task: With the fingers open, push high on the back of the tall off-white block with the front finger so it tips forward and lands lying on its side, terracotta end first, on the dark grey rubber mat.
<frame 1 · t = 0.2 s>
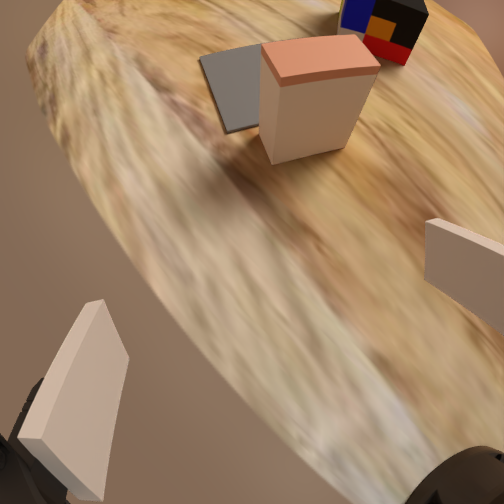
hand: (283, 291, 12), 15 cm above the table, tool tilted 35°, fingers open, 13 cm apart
puzzle toy: (370, 37, 36), on the table
tall block: (302, 139, 31), on the table
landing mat: (270, 78, 33), on the table
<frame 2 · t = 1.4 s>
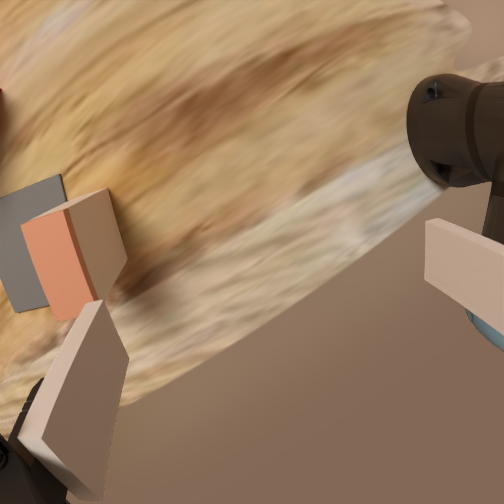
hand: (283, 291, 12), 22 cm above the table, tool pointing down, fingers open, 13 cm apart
tall block: (100, 228, 31), on the table
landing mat: (32, 249, 30), on the table
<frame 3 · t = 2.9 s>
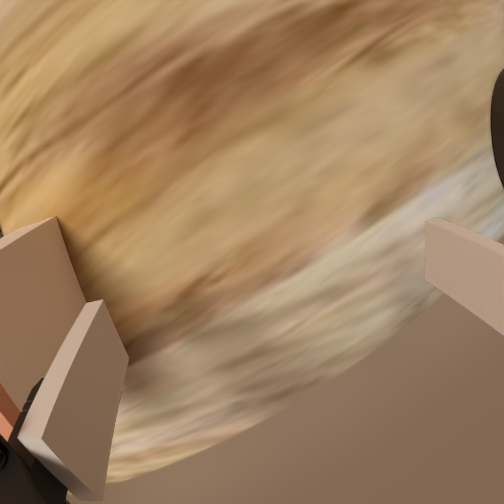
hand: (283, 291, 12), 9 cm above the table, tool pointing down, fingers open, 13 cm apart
tall block: (51, 279, 19), on the table
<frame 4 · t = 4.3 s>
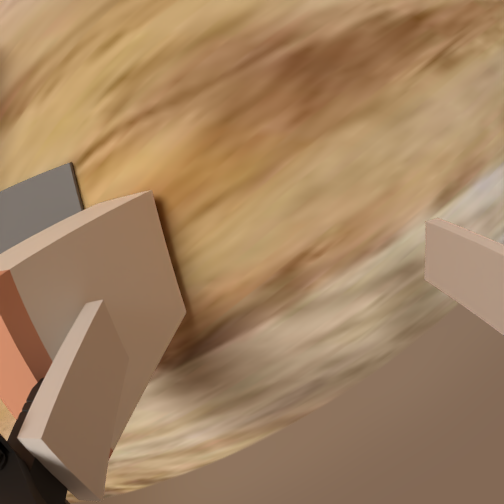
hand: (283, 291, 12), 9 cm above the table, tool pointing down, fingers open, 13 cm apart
tall block: (140, 258, 19), point 1 cm above the table, tilted 16°
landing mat: (28, 285, 19), on the table
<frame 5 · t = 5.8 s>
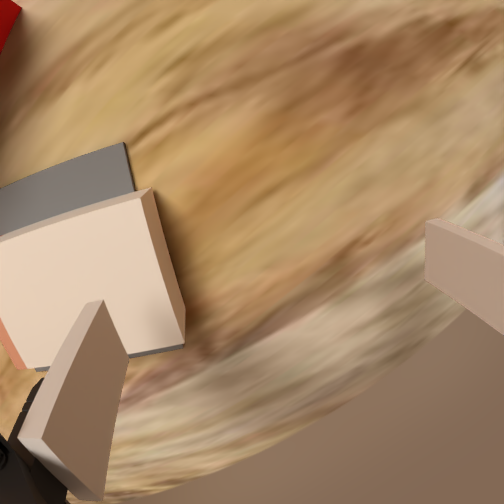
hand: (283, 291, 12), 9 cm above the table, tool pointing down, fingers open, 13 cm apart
tall block: (165, 263, 17), point 2 cm above the table, tilted 90°, touching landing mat
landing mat: (64, 275, 19), on the table
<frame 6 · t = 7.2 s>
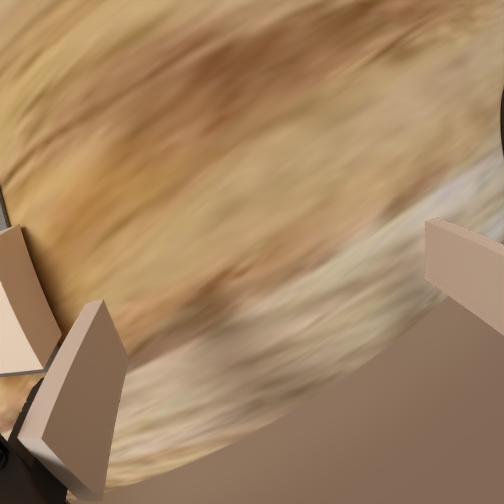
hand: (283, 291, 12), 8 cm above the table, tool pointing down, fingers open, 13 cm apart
tall block: (27, 295, 15), point 2 cm above the table, tilted 90°, touching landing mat
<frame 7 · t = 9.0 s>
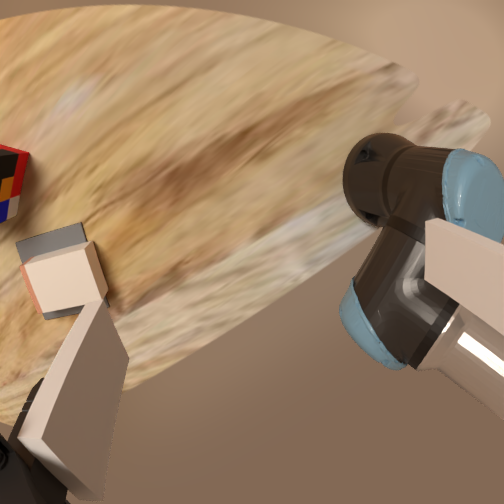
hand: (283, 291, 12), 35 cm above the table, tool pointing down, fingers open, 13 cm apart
puzzle toy: (0, 176, 37), on the table
tall block: (96, 270, 42), point 2 cm above the table, tilted 90°, touching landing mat
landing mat: (60, 274, 44), on the table
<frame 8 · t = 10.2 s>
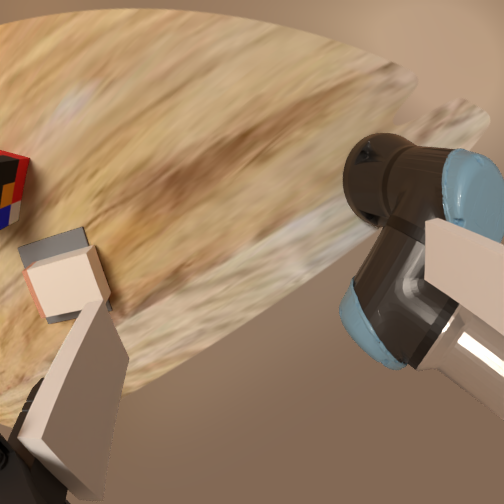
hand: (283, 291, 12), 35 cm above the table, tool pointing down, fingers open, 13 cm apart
puzzle toy: (1, 182, 38), on the table
tall block: (99, 274, 43), point 2 cm above the table, tilted 90°, touching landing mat
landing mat: (63, 278, 44), on the table
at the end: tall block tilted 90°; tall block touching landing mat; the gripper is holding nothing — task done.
